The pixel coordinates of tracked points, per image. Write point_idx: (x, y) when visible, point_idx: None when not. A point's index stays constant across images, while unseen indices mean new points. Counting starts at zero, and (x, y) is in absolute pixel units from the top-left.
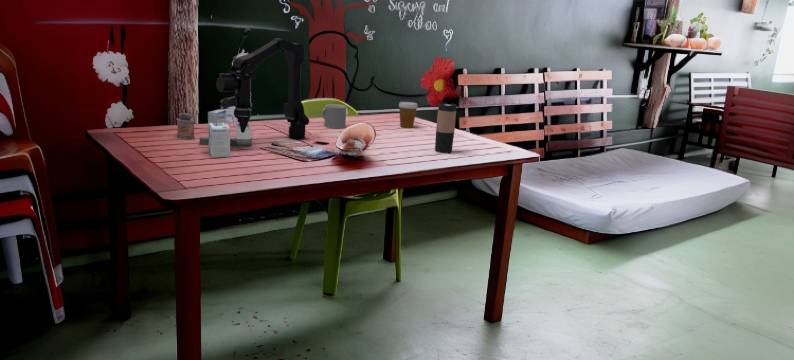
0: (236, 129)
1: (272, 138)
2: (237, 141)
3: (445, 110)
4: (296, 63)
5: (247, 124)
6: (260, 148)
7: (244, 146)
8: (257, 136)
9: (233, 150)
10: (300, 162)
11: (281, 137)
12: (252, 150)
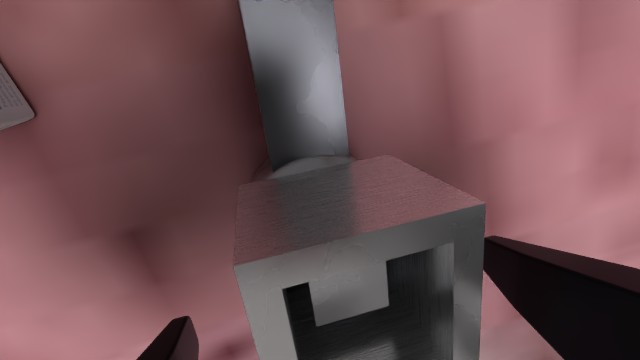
0: (236, 249)
1: (523, 318)
2: None
3: None
4: None
5: (452, 356)
6: (231, 345)
7: None
8: (574, 227)
9: (62, 185)
10: None
11: (547, 349)
12: (139, 320)
